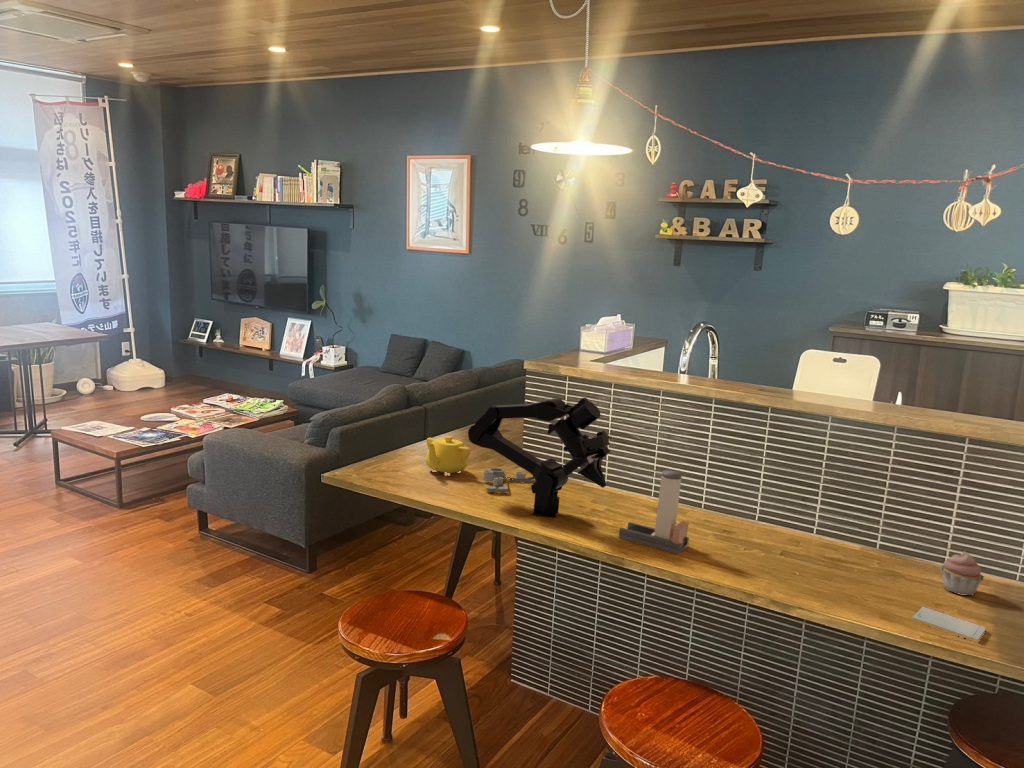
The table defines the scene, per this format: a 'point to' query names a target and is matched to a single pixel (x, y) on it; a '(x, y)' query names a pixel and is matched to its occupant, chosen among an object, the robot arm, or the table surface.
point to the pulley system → (499, 476)
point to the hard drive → (949, 623)
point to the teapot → (447, 455)
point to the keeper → (667, 504)
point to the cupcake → (961, 574)
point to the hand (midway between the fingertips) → (604, 486)
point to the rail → (644, 537)
